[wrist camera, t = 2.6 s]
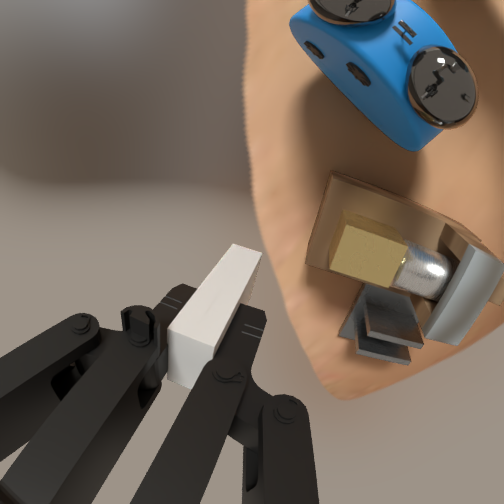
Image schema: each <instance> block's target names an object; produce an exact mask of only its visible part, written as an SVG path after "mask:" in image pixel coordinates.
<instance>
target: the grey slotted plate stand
mask: <svg viewBox="0 0 504 504" xmlns="http://www.w3.org/2000/svg"><path fill="white" fill-rule="evenodd" d="M418 322H419V320H418V317H417V315H416V312H415V310H414V307H413V305H412V302H411V300H410V297H407V296H404V295H401V294H398V293H395V292H392V291H388V290H385V289H382V288H379V287H376V286H373V285H370V284H367V283H363V285H362V287H361V289H360V291H359V293H358V295H357V297H356V299H355V301H354V303H353V305H352V307H351V309H350V311H349V313H348V315H347V317H346V318H345V320H344V322H343V324H342V326H341V328H340V329H339V336H341V337H345V338H349V339H352V340H355V348H356V354H359V355H364V356H368V357H372V358H376V359H380V360H385V361H389V362H394V363H399V364H403V365H409V364H410V362H411V359H410V355H409V351H408V347H407V346H410V347H414V348H418V349H421V348H422V347H423V345H424V343H423V340H422V337H421V334H420V331H419V328H418V325H417V323H418Z"/></svg>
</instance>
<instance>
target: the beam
mask: <svg viewBox="0 0 504 504" xmlns="http://www.w3.org/2000/svg"><path fill="white" fill-rule="evenodd" d="M342 209H343V210H346V211H349V212H352V213H355V214H358V215H361V216H364V217H366V218H369V219H372V220H375V221H378V222H380V223H383V224H386V225H388V226H391V227H394V228H396V230H397V231H398V232H399V234H400V235H401V237H402V238H403V239H406V240H408V241H411V242H414V243H416V244H419V245H421V246H424V247H426V248H428V249H431V250H433V251H436V252H438V253H441V254H443V255H445V256H448V257H450V258H452V259H455V260H457V261H459V262H460V264H459V266H458V268H457V270H456V272H455V273H454V275H453V277H452V279H451V281H450V283H449V285H448V286H447V288H446V290H445V292H444V294H443V295H442V297H441V299H440V300H439V302H437V301H434V300H431V299H428V298H425V297H422V296H419V295H416V294H412V293H409V292H406V291H403V290H400V289H397V288H394V287H391V286H389V288H387V287H384V286H381V285H377V284H374V283H371V282H368V281H365V280H362V279H359V278H356V277H353V276H349V275H346V274H343V273H340V272H337V271H334V270H331V269H329V246H330V243H331V241H332V238H333V235H334V232H335V229H336V227H337V224H338V221H339V218H340V215H341V212H342ZM305 264H307V265H310V266H313V267H316V268H319V269H323V270H326V271H329V272H332V273H335V274H338V275H341V276H345V277H348V278H351V279H354V280H357V281H360V282H363V283H367V284H370V285H373V286H376V287H379V288H382V289H385V290H388V291H392V292H395V293H398V294H401V295H404V296H407V297H410V300H411V302H412V305H413V307H414V310H415V312H416V315H417V317H418V320H419V323H420V325H421V328H422V331H423V334H424V337H425V338H427V339H431V340H435V341H439V342H443V343H447V344H451V345H455V346H458V344H459V343H460V342H461V340H462V339H463V338H464V336H465V335H466V333H467V332H468V331H469V329H470V328H471V326H472V325H473V323H474V322H475V320H476V319H477V317H478V316H479V314H480V313H481V311H482V309H483V308H484V306H485V305H486V303H487V301H489V302H492V303H494V304H497V305H499V306H500V305H501V304H502V302H503V300H504V274H503V272H504V263H503V262H501V261H500V260H499V259H498V258H497V257H496V256H495V255H494V254H493V253H492V252H491V251H490V250H489V249H488V248H487V247H486V246H484V245H483V244H482V243H481V240H480V239H479V238H478V237H477V236H476V235H474V234H473V233H472V232H471V231H470V230H468V229H467V228H466V227H465V226H463V225H462V224H461V223H459V222H457V221H455V220H453V219H451V218H449V217H447V216H445V215H442V214H440V213H438V212H436V211H434V210H432V209H430V208H427V207H425V206H423V205H421V204H418V203H416V202H414V201H411V200H409V199H407V198H404V197H402V196H399V195H397V194H394V193H392V192H389V191H387V190H384V189H382V188H379V187H376V186H374V185H371V184H368V183H366V182H363V181H360V180H357V179H354V178H352V177H349V176H346V175H343V174H340V173H337V172H334V171H331V172H330V176H329V179H328V183H327V186H326V189H325V193H324V196H323V199H322V202H321V206H320V209H319V212H318V215H317V218H316V221H315V224H314V227H313V230H312V234H311V237H310V240H309V243H308V249H307V255H306V261H305Z"/></svg>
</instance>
